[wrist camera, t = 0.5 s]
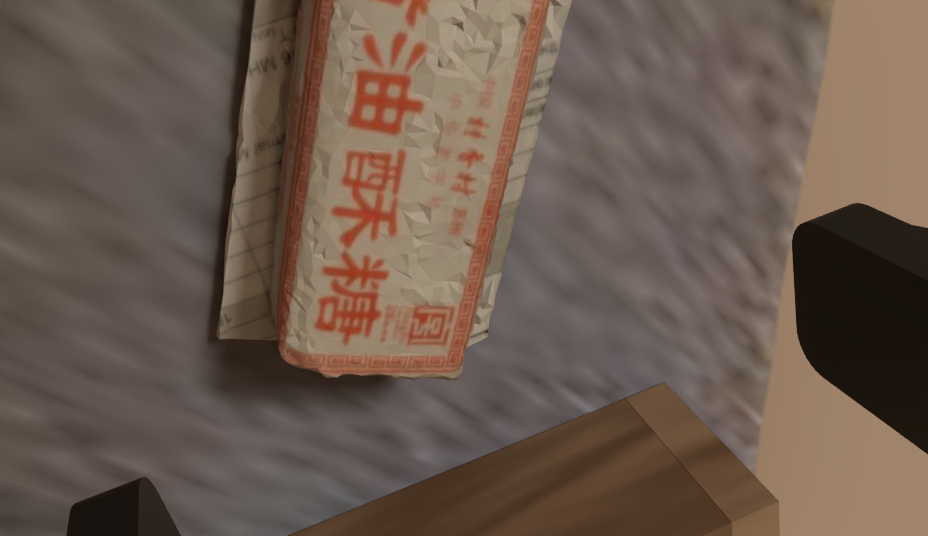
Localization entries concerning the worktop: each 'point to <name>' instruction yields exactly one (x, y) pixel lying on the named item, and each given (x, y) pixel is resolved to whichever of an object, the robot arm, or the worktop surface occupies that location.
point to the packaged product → (382, 176)
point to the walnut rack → (585, 484)
